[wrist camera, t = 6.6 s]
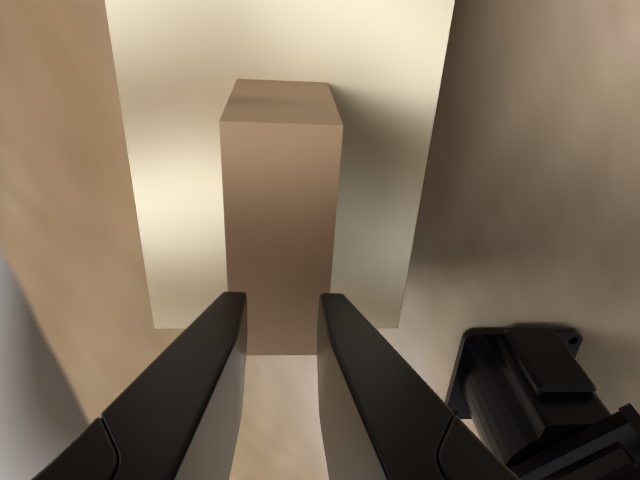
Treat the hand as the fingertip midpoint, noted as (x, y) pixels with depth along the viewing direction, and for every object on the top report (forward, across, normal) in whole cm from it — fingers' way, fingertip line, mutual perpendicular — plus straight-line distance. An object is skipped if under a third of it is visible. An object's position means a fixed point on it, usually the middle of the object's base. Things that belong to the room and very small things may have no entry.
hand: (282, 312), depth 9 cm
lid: (+8, 0, -3) cm, 9 cm away
